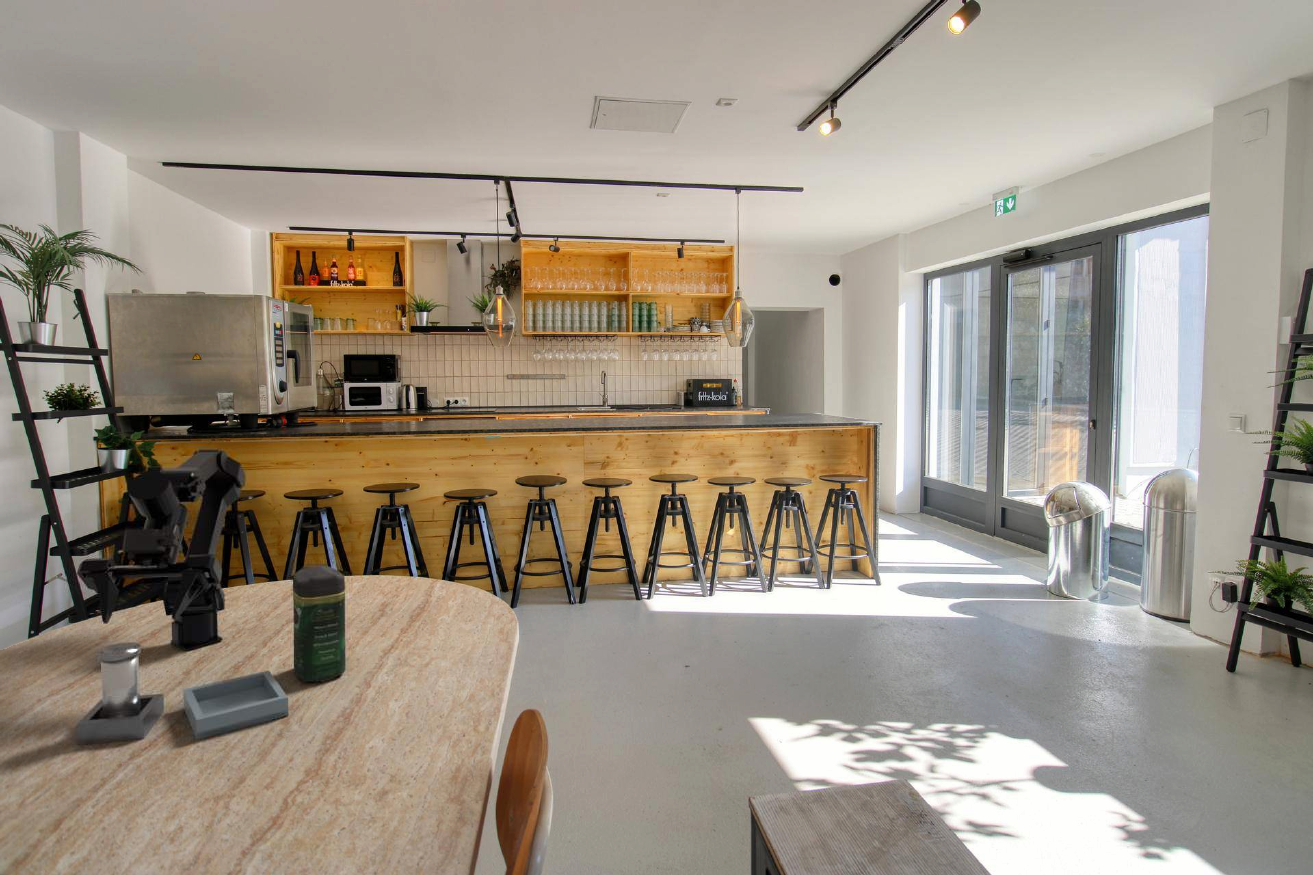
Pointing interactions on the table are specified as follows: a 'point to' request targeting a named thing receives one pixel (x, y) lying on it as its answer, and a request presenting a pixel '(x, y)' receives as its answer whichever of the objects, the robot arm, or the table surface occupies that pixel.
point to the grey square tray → (120, 722)
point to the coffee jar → (319, 623)
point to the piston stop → (120, 680)
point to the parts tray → (234, 704)
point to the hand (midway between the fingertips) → (139, 620)
